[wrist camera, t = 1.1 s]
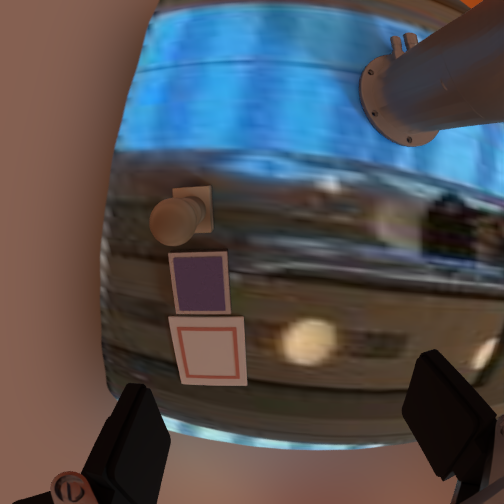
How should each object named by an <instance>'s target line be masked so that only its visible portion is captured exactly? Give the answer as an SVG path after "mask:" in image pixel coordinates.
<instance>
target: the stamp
mask: <svg viewBox="0 0 504 504" xmlns="http://www.w3.org/2000/svg"><path fill="white" fill-rule="evenodd" d="M150 229H151V232H152V234H153V236H154V237H155V238H156V239H157V240H158V241H159V242H161V243H162V244H165V245H168V246H178V245H181V244H184V243H185V242H187V241H188V240H189V239H190V238H191V237H192V236H193V234H194V233H210V232H212V231H213V229H214V219H213V199H212V185H211V186H194V187H180V188H174V189H173V198H168V199H165V200H163V201H161V202H159V203H158V204H157V205H156V206H155V208H154V209H153V211H152V213H151V216H150Z"/></svg>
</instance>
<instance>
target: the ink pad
mask: <svg viewBox="0 0 504 504" xmlns="http://www.w3.org/2000/svg"><path fill="white" fill-rule="evenodd" d="M168 256H169V264H170V272H171V280H172V288H173V295H174V302H175V309H176V314H231V310H232V309H231V294H230V277H229V260H228V249H203V250H171V251H170V252H169V253H168Z"/></svg>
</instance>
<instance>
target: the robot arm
mask: <svg viewBox="0 0 504 504" xmlns="http://www.w3.org/2000/svg"><path fill="white" fill-rule="evenodd" d="M403 38H404V42H405V46H406V49H407V51H406V52H405V53H404V52H403V51H402V44H401V39H400V37H398V36H392V37H390V41H391V46H392V48H393V52H391V53H392V54H390V55H383V56H380V57H377V58H375V59H374V60H373V61H371V62H370V63H369V64H368V65H367V66H366V67H365V69H364V70H363V72H362V74H361V77H360V81H359V96H360V100H361V104H362V107H363V109H364V112H365V114H366V116H367V117H368V119H369V120H370V122H371V124H372V125H373V126H374V127H375V128H376V129H377V131H378V132H380V133H381V134H382V135H383V136H384V137H385V138H387V139H389V140H390V141H392V142H394V143H396V144H399V145H402V146H407V147H416V146H422V145H424V144H427V143H429V142H430V141H431V140H433V139H434V138H435V136H436V135H437V134H438V132H439V130H445V129H451V128H459V127H466V126H474V125H483V124H492V123H501V122H504V0H483V1H482V2H481V3H479V4H478V5H476V6H475V7H473V8H472V9H470V10H469V11H467V12H466V13H464V14H463V15H461V16H460V17H458V18H457V19H455V20H453V21H452V22H450V23H448V24H447V25H445V26H444V27H442V28H441V29H439V30H438V31H436V32H434V33H433V34H431V35H430V36H428V37H427V38H425V39H424V40H422V41H421V42H419V43H418V39H417V35H416V34H414V33H405V34H403ZM368 73H369V74H370V75H369V74H368ZM372 113H373V114H374V116H373V115H372ZM402 415H403V417H404V419H405V421H406V422H407V424H408V426H409V428H410V429H411V431H412V433H413V435H414V436H415V438H416V440H417V442H418V443H419V445H420V447H421V449H422V451H423V452H424V454H425V456H426V458H427V460H428V461H429V463H430V465H431V467H432V469H433V471H434V472H435V474H436V476H438V477H441V479H442V481H445V480H447V479H449V478H451V477H453V476H454V475H456V477H457V479H458V480H457V484H456V488H455V491H454V494H453V497H452V500H451V503H450V504H504V415H502V416H501V417H499V419H498V420H496V419H495V417H496V416H497V414H496V413H495V412H494V411H493V410H492V409H491V407H490V406H489V405H488V404H487V403H486V402H485V401H484V399H483V398H482V397H481V396H480V395H479V394H478V393H477V392H476V390H475V389H474V388H473V387H472V386H471V385H470V384H469V383H468V382H467V381H466V380H465V378H464V377H463V376H462V375H461V374H460V373H459V372H458V371H457V370H456V369H455V368H454V367H453V366H452V365H451V364H450V363H449V362H448V361H447V359H446V358H445V357H444V356H443V355H442V354H441V353H440V352H439V351H438V350H436V349H433V350H430V351H427V352H423V353H421V355H420V357H419V358H418V359H417V361H416V364H415V368H414V371H413V375H412V378H411V382H410V385H409V388H408V392H407V395H406V398H405V401H404V404H403V407H402ZM170 443H171V439H170V435H169V432H168V430H167V428H166V426H165V423H164V421H163V419H162V416H161V414H160V412H159V409H158V407H157V404H156V402H155V399H154V397H153V394H152V392H151V390H150V389H149V388H146V386H145V385H144V384H136V383H128V384H127V385H126V387H125V389H124V391H123V392H122V394H121V396H120V398H119V400H118V402H117V404H116V406H115V408H114V410H113V412H112V414H111V416H110V417H108V419H107V420H106V422H105V424H104V426H103V428H102V430H101V432H100V434H99V436H98V438H97V440H96V442H95V444H94V446H93V448H92V451H91V453H90V455H89V457H88V459H87V461H86V463H85V466H84V468H83V470H82V472H81V474H79V473H77V472H73V471H67V472H63V473H60V474H58V475H57V476H56V477H55V478H54V479H53V481H52V482H51V488H50V489H51V491H49V492H45V493H43V494H39V495H36V496H33V497H29V498H26V499H21V500H18V501H16V502H14V503H12V504H157V499H158V495H159V491H160V486H161V481H162V477H163V473H164V469H165V465H166V461H167V456H168V452H169V448H170Z"/></svg>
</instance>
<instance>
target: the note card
mask: <svg viewBox="0 0 504 504" xmlns="http://www.w3.org/2000/svg"><path fill="white" fill-rule="evenodd" d="M168 318H169V324H170V330H171V335H172V340H173V345H174V350H175V355H176V360H177V364H178V369H179V373H180V378H181V382H182V384H191V385H219V386H247V371H246V353H245V333H244V316H220V317H198V316H169V317H168Z"/></svg>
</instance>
